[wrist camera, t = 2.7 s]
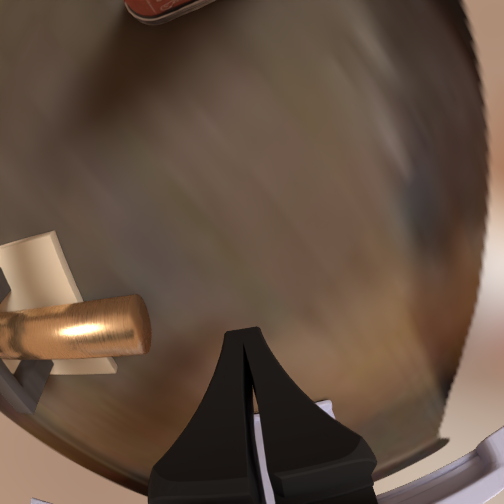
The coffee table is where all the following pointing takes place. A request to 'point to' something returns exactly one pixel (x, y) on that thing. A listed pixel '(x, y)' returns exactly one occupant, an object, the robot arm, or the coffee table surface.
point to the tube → (77, 330)
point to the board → (35, 296)
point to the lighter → (162, 9)
